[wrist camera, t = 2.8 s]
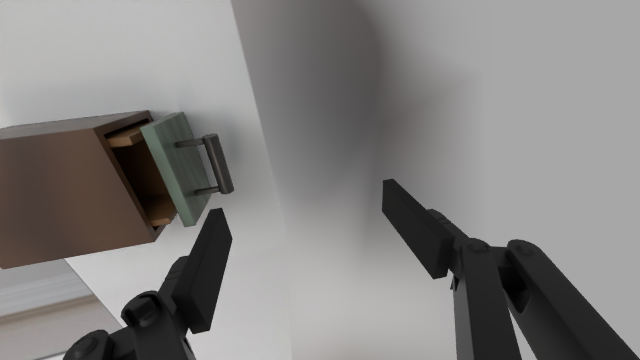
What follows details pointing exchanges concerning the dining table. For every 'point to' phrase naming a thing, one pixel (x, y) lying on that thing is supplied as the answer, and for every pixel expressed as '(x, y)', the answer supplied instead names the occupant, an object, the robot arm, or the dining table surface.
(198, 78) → the dining table surface
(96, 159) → the cabinet
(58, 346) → the dining table surface
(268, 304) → the dining table surface
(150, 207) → the drawer
